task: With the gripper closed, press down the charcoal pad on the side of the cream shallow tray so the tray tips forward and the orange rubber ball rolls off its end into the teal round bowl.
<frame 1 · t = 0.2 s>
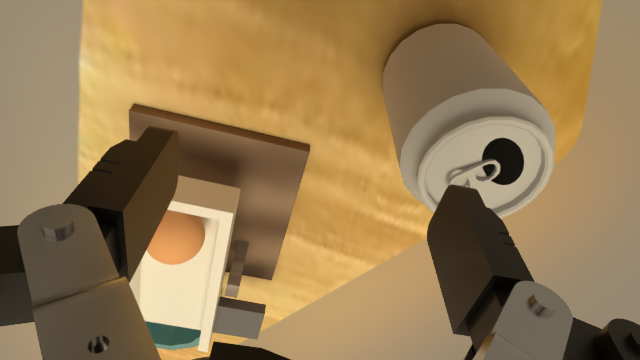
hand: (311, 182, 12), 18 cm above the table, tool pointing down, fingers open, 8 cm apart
teal round bowl: (171, 287, 44), on the table
ball: (174, 234, 28), point 8 cm above the table, tilted 12°, touching cream shallow tray
cream shallow tray: (202, 273, 32), point 7 cm above the table, hinge at -6.0°, touching ball
can: (434, 73, 29), on the table
stand: (214, 201, 36), on the table
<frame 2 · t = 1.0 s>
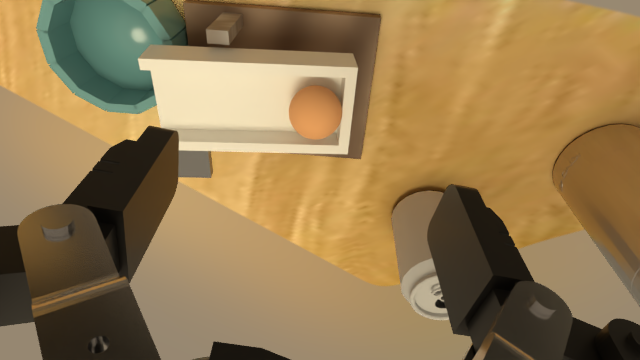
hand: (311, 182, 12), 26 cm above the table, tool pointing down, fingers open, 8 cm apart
teal round bowl: (129, 37, 36), on the table
ball: (315, 112, 31), point 8 cm above the table, tilted 12°, touching cream shallow tray
cream shallow tray: (254, 125, 33), point 7 cm above the table, hinge at -6.0°, touching ball
can: (424, 211, 46), on the table
stand: (282, 84, 38), on the table
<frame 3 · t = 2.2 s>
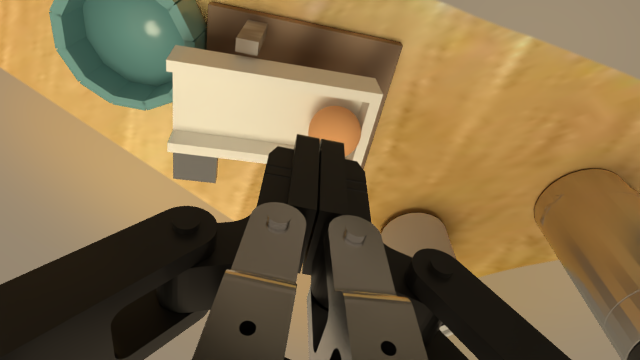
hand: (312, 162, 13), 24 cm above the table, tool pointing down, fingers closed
teal round bowl: (144, 30, 35), on the table
ball: (334, 132, 31), point 8 cm above the table, tilted 12°, touching cream shallow tray
cream shallow tray: (269, 136, 32), point 7 cm above the table, hinge at -6.0°, touching ball
can: (411, 231, 47), on the table
stand: (294, 96, 38), on the table
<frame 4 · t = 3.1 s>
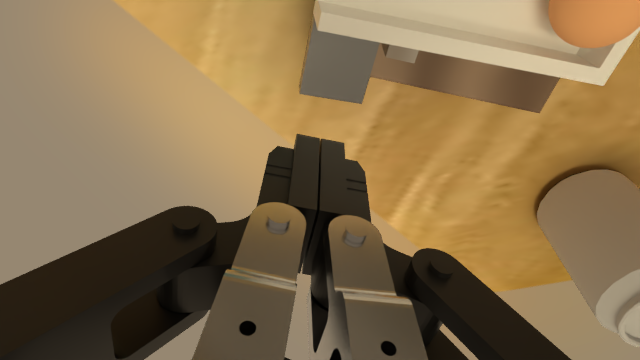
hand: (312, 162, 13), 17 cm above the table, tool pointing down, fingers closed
ball: (599, 1, 18), point 8 cm above the table, tilted 12°, touching cream shallow tray
cream shallow tray: (473, 17, 20), point 7 cm above the table, hinge at -6.0°, touching ball
can: (577, 198, 35), on the table
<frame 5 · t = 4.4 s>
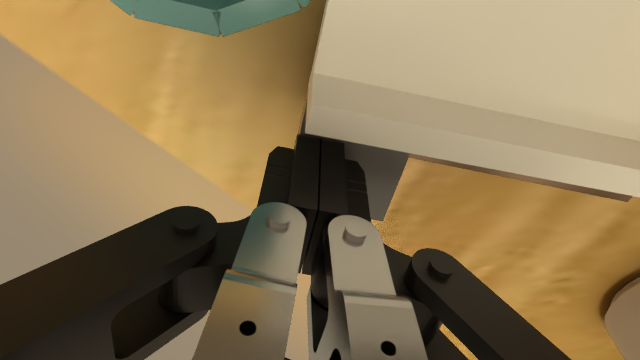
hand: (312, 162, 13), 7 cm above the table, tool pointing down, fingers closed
cream shallow tray: (584, 107, 11), point 7 cm above the table, hinge at -1.3°, touching gripper
stand: (543, 24, 17), on the table
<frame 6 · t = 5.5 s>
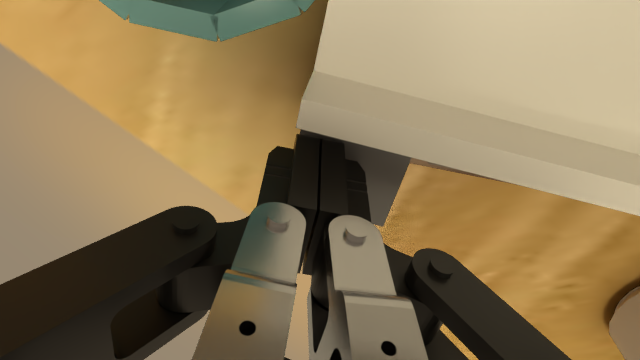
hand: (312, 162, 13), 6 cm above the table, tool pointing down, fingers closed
cream shallow tray: (595, 120, 11), point 7 cm above the table, hinge at 5.9°, touching gripper
stand: (548, 28, 16), on the table
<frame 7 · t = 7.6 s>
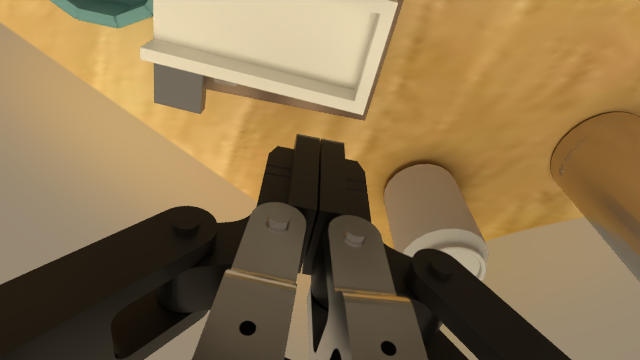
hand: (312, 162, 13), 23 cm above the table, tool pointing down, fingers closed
cream shallow tray: (261, 57, 27), point 7 cm above the table, hinge at 6.5°
can: (417, 187, 43), on the table
stand: (291, 22, 33), on the table
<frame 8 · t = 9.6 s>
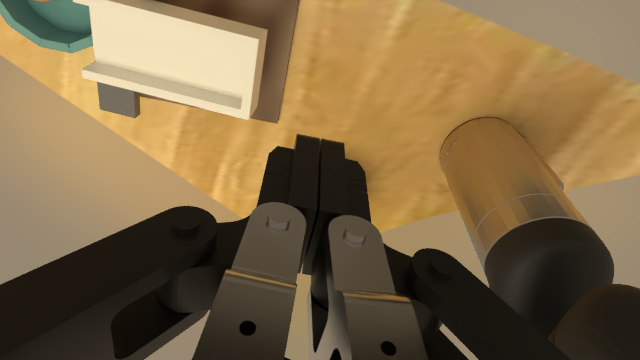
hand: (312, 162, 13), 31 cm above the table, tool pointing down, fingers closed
cream shallow tray: (173, 76, 36), point 7 cm above the table, hinge at 6.5°
stand: (211, 46, 42), on the table
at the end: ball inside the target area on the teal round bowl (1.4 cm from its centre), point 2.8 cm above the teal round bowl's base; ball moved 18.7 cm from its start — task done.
